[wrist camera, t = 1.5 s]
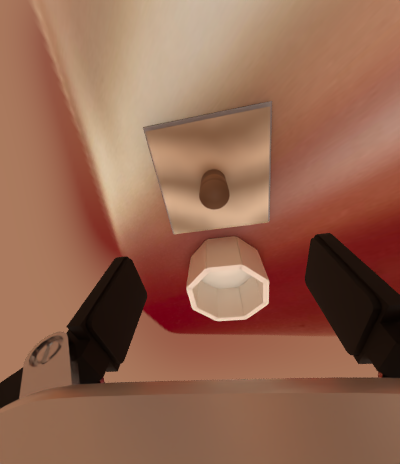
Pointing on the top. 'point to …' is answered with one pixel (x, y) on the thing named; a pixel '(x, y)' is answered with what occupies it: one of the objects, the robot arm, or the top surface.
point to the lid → (214, 170)
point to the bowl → (227, 280)
